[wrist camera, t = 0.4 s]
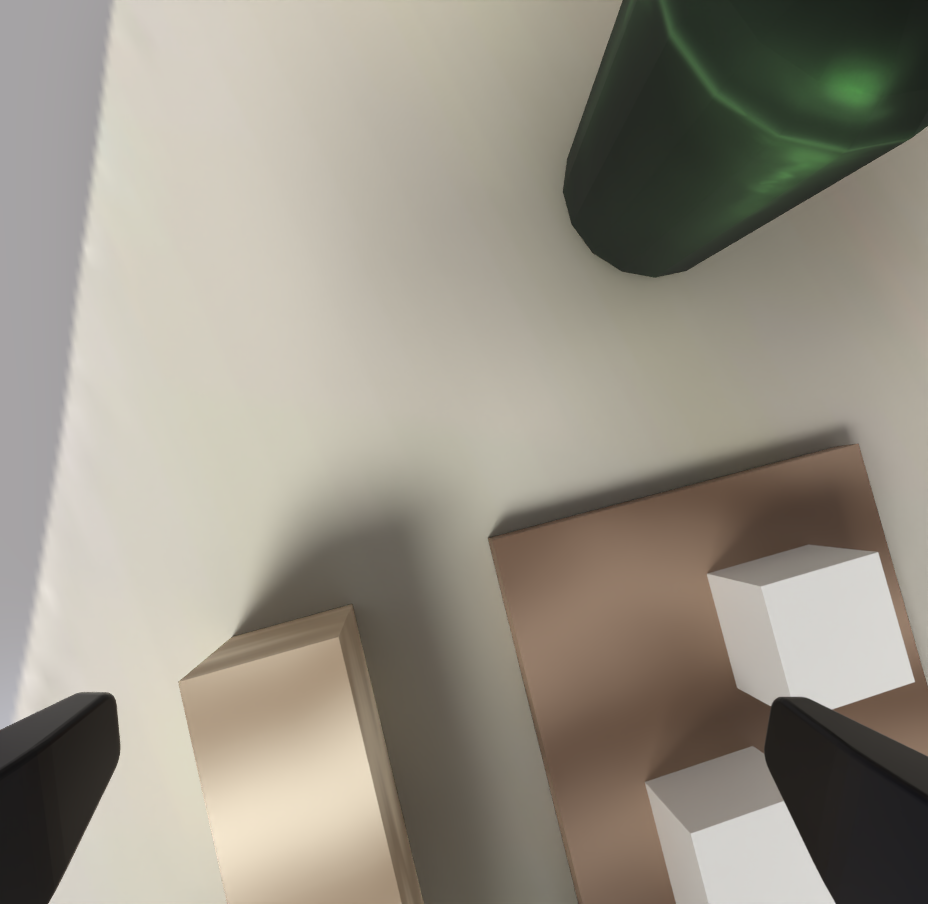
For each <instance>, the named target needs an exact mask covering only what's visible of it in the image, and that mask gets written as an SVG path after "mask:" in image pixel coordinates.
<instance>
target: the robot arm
mask: <svg viewBox="0 0 928 904" xmlns="http://www.w3.org/2000/svg"><path fill="white" fill-rule="evenodd" d="M764 755H765V761H766V764H767V767H768V769H769V771H770V773H771V775H772V778H773V780H774V782H775V784H776V786H777V788H778V790H779V792H780V794H781V796H782V798H783V800H784V802H785V805H786V807H787V809H788V811H789V813H790V815H791V817H792V819H793V821H794V823H795V825H796V827H797V829H798V832H799V834H800V836H801V838H802V840H803V842H804V844H805V846H806V848H807V850H808V852H809V854H810V857H811V859H812V861H813V863H814V865H815V867H816V869H817V870H818V872H819V874H820V876H821V878H822V880H823V882H824V884H825V886H826V888H827V889H828V891H829V893H830V895H831V896H832V898H833V900H834V902H835V904H928V756H926V755H924V754H922V753H920V752H918V751H916V750H914V749H912V748H910V747H908V746H906V745H904V744H902V743H899V742H897V741H895V740H893V739H891V738H889V737H887V736H885V735H883V734H881V733H879V732H877V731H875V730H873V729H871V728H869V727H867V726H865V725H862V724H860V723H858V722H856V721H854V720H852V719H850V718H848V717H846V716H844V715H842V714H840V713H838V712H836V711H834V710H832V709H830V708H828V707H825V706H823V705H821V704H819V703H817V702H815V701H813V700H811V699H809V698H806V697H778V698H776V699H775V700H774V701H773V703H772V705H771V709H770V715H769V721H768V727H767V733H766V738H765V744H764ZM119 756H120V736H119V725H118V715H117V704H116V700H115V698H114V696H113V695H112V694H110V693H107V692H81V693H77V694H74V695H72V696H70V697H68V698H66V699H64V700H62V701H60V702H57V703H55V704H53V705H51V706H49V707H47V708H45V709H43V710H41V711H39V712H37V713H35V714H32V715H30V716H28V717H26V718H24V719H22V720H20V721H18V722H16V723H14V724H12V725H10V726H7V727H5V728H3V729H1V730H0V904H48V903H49V901H50V900H51V898H52V896H53V894H54V893H55V891H56V889H57V887H58V885H59V883H60V881H61V879H62V877H63V875H64V873H65V871H66V869H67V867H68V865H69V863H70V861H71V859H72V857H73V855H74V853H75V851H76V849H77V847H78V845H79V843H80V841H81V839H82V836H83V834H84V832H85V830H86V828H87V826H88V824H89V822H90V820H91V818H92V816H93V814H94V812H95V810H96V808H97V806H98V804H99V801H100V799H101V797H102V795H103V793H104V791H105V789H106V787H107V785H108V783H109V781H110V779H111V777H112V775H113V773H114V771H115V768H116V766H117V763H118V760H119Z"/></svg>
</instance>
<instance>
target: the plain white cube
mask: <svg viewBox="0 0 928 904" xmlns="http://www.w3.org/2000/svg"><path fill="white" fill-rule="evenodd" d="M645 785H646V789H647V793H648V797H649V800H650V804H651V808H652V812H653V816H654V820H655V824H656V828H657V832H658V835H659V839H660V843H661V847H662V851H663V855H664V859H665V863H666V867H667V871H668V874H669V878H670V882H671V886H672V890H673V894H674V898H675V902H676V904H835V902H834V900H833V898H832V896H831V895H830V893H829V891H828V889H827V888H826V886H825V884H824V882H823V880H822V878H821V876H820V874H819V872H818V870H817V869H816V867H815V865H814V863H813V861H812V859H811V857H810V854H809V852H808V850H807V848H806V846H805V844H804V842H803V840H802V838H801V836H800V834H799V832H798V829H797V827H796V825H795V823H794V821H793V819H792V817H791V815H790V813H789V811H788V809H787V807H786V805H785V802H784V800H783V798H782V796H781V794H780V792H779V790H778V788H777V786H776V784H775V782H774V780H773V778H772V775H771V773H770V771H769V769H768V767H767V764H766V761H765V755H764V753H762V752H761V751H759V750H758V749H756V748H755V747H753V746H751V747H748V748H745V749H742V750H739V751H736V752H733V753H730V754H727V755H724V756H721V757H718V758H715V759H712V760H709V761H706V762H703V763H700V764H697V765H694V766H691V767H688V768H685V769H682V770H679V771H676V772H673V773H670V774H667V775H664V776H661V777H658V778H655V779H652V780H649V781H646V782H645Z"/></svg>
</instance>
